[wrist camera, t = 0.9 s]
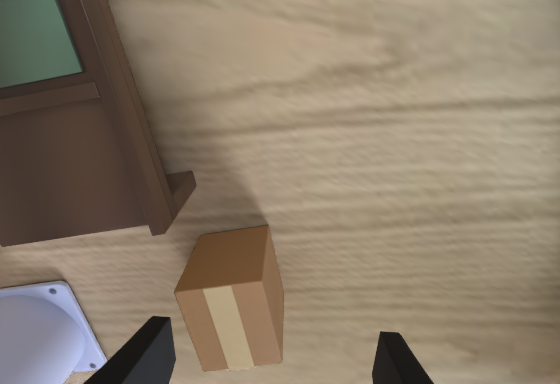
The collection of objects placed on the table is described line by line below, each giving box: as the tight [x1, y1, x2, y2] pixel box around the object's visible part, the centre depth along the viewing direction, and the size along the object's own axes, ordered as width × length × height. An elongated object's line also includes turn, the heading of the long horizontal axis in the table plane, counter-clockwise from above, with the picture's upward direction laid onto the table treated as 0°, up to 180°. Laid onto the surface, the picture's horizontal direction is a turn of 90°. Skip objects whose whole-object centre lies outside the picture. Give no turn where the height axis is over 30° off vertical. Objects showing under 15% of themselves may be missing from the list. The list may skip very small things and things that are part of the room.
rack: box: [0, 0, 196, 247], centre depth 15 cm, size 9×20×6 cm, turn 10°
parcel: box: [174, 225, 284, 372], centre depth 20 cm, size 4×6×6 cm
